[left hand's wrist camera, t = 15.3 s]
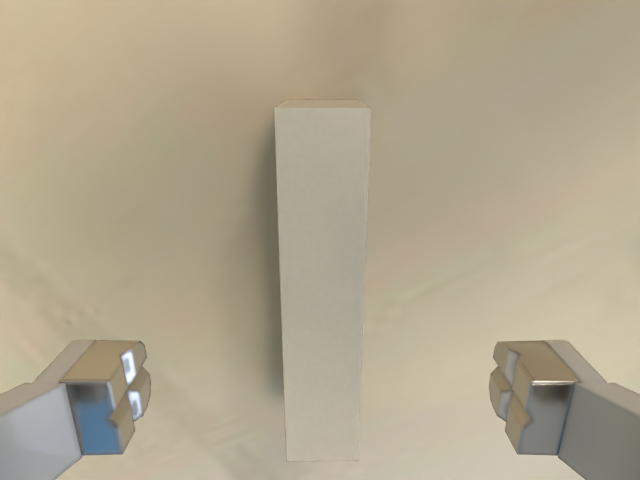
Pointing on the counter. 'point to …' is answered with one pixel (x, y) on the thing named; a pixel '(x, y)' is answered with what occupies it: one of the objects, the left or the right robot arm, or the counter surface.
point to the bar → (322, 272)
